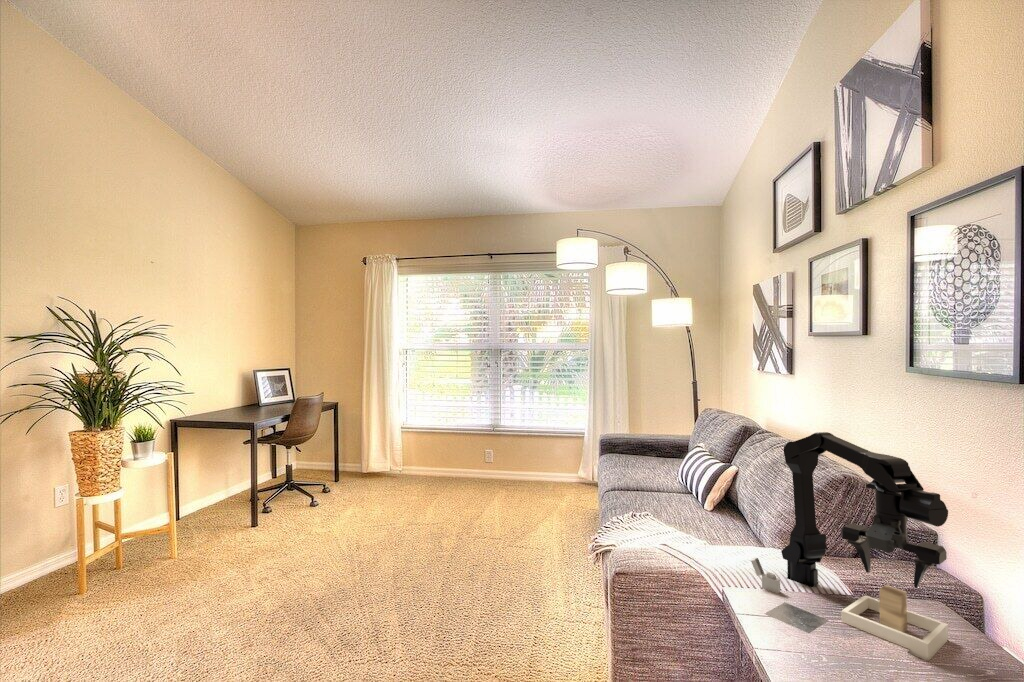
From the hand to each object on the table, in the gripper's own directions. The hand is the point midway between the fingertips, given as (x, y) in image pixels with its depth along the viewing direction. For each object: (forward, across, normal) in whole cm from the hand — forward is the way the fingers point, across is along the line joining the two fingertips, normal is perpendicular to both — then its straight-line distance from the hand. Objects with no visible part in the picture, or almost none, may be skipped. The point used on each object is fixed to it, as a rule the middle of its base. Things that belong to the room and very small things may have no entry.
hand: (891, 579), depth 112 cm
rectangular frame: (+12, 0, 0) cm, 12 cm away
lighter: (+12, -27, -5) cm, 30 cm away
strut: (+11, 0, 0) cm, 11 cm away
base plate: (+12, -15, -14) cm, 24 cm away
